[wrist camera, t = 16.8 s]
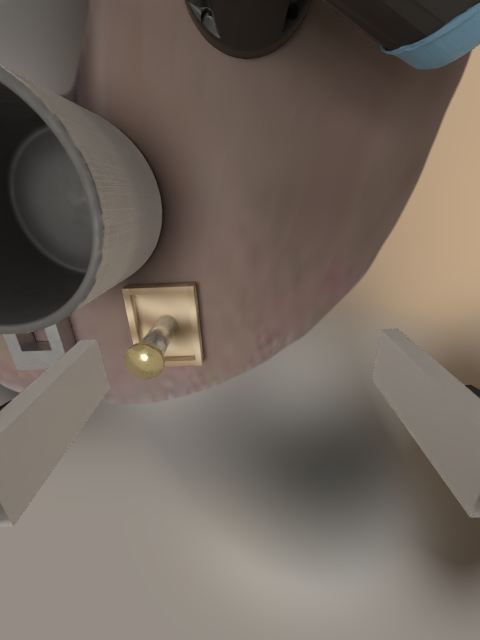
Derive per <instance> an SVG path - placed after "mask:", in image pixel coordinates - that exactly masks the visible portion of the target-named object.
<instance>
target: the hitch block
mask: <svg viewBox="0 0 480 640" xmlns="http://www.w3.org/2000/svg"><path fill="white" fill-rule="evenodd" d="M44 329H45V331H46V334H47V337H48V340H49V341H39V342H36V340H35V337H34V335H33V332H29V333H21V334H3V336H4V339H5V341H6V343H7V346H8V348H9V351H10V353H11V356H12V358H13V361H14V363H15V366H16V368H17V370H35V369H48V368H49V367H51V366H52V365H53V364H54V363H55V362H56V361H57V360H59V359H60V358H61V357H62V356H63V355H64V354H65V353H67V352H68V351H69V350H70V349H71V348H72V347H73V346H75V345H76V340H75V337H74V334H73V330H72V327H71V324H70V320H69V317H67V318H65V319H63V320H62V321H60V322H58V323H56V324H54V325H52V326H50V327H47V328H44Z"/></svg>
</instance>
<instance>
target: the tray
mask: <svg viewBox="0 0 480 640" xmlns="http://www.w3.org/2000/svg"><path fill="white" fill-rule="evenodd" d="M122 293H123V298H124V302H125V307H126V312H127V316H128V321H129V326H130V330H131V335H132V340H133V345H134V344H136V343H139V342H141V341H142V340H143V338H144V337H145V336H146V334H147V333H148V332H149V330H150V329H151V327H152V326H153V325H154V323H155V322H156V321H157V319H158V318H159V317H160V316H163V315H169V316H171V317H173V318H174V319H175V320H176V322H177V325H178V327H177V330H176V332H175V334H174V336H173V338H172V340H171V342H170V344H169V346H168V347H167V349H166V351H165V353H164V358H165V364H164V367H165V366H195V365H202V364H203V359H204V356H203V347H202V337H201V328H200V319H199V309H198V300H197V291H196V282H185V283H161V284H136V285H126V286H125V287H124V288H122Z"/></svg>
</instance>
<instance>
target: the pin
mask: <svg viewBox="0 0 480 640" xmlns="http://www.w3.org/2000/svg"><path fill="white" fill-rule="evenodd" d="M177 327H178V325H177V322H176V320H175V319H174V318H173V317H171V316H169V315H163V316H160V317H159V318H158V319H157V321H156V322H155V323H154V325H153V326H152V327H151V329H150V330H149V332H148V333H147V334H146V336H145V337H144V338H143V340H142V341H141V342H139V343H136V344H134V345H132V346H131V347H130V348H129V350H128V351H127V352H126V354H125V356H124V364H125V367H126V369H127V370H128V371H129V372H130V373H131V374H132V375H134V376H135V377H137V378H141V379H152V378H154V377H156V376H158V375H159V374H160V372H161V371H162V369H163V367H164V364H165V358H164V353H165V351H166V349H167V347H168V346H169V344H170V342H171V340H172V338H173V336H174V334H175V332H176V330H177Z"/></svg>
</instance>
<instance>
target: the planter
mask: <svg viewBox="0 0 480 640" xmlns="http://www.w3.org/2000/svg"><path fill="white" fill-rule="evenodd" d="M161 226H162V203H161V197H160V192H159V189H158V185H157V182H156V179H155V177H154V175H153V172H152V170H151V168H150V166H149V164H148V163H147V161H146V160H145V158H144V156H143V155H142V154H141V152H140V151H139V150H138V148H137V147H136V146H135V145H134V144H133V143H132V141H131V140H130V139H129V138H128V137H127V136H126V135H124V134H123V133H122V132H121V131H120V130H119V129H117V128H116V127H115V126H114V125H112V124H111V123H109V122H108V121H106V120H105V119H103V118H101V117H100V116H98V115H96V114H94V113H92V112H90V111H88V110H87V109H85V108H83V107H81V106H79V105H77V104H75V103H73V102H71V101H69V100H67V99H65V98H64V97H62V96H60V95H58V94H56V93H54V92H52V91H50V90H48V89H46V88H45V87H43V86H41V85H39V84H37V83H35V82H33V81H31V80H30V79H28V78H26V77H24V76H22V75H20V74H18V73H17V72H15V71H13V70H11V69H9V68H8V67H6V66H4V65H2V64H0V334H21V333H29V332H34V331H38V330H41V329H44V328H47V327H50V326H52V325H54V324H56V323H58V322H60V321H62V320H63V319H65V318H67V317H68V316H70V315H71V314H73V313H74V312H76V311H77V310H79V309H80V308H82V307H83V306H85V305H86V304H88V303H89V302H91V301H92V300H94V299H95V298H97V297H98V296H100V295H101V294H103V293H105V292H106V291H108V290H109V289H111V288H112V287H114V286H116V285H117V284H119V283H120V282H122V281H123V280H125V279H126V278H128V277H130V276H131V275H132V274H134V273H135V272H136V271H137V270H139V269H140V268H141V267H142V266H143V265H144V264H145V262H146V261H147V260H148V259H149V257H150V256H151V254H152V252H153V251H154V249H155V247H156V244H157V242H158V239H159V235H160V231H161Z"/></svg>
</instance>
